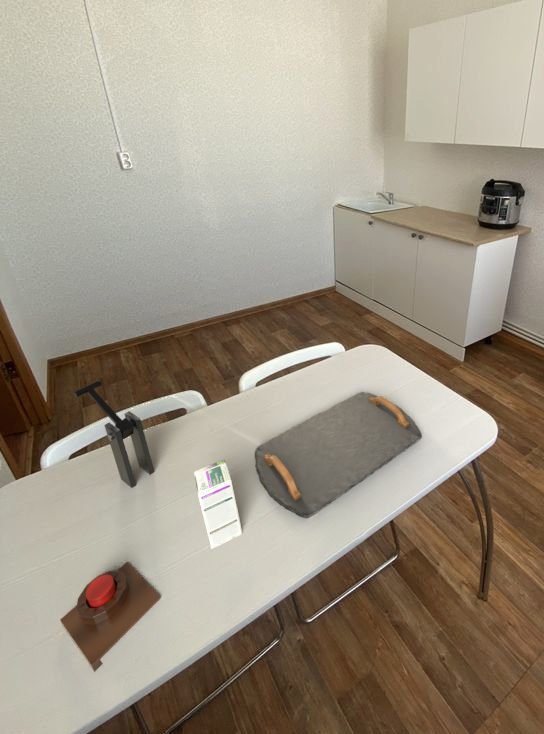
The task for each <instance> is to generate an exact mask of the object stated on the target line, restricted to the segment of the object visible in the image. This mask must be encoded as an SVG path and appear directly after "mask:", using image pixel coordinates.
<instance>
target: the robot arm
mask: <svg viewBox="0 0 544 734" xmlns="http://www.w3.org/2000/svg"><path fill="white" fill-rule="evenodd" d="M2 467H3V459H2V455H1V454H0V471H2Z"/></svg>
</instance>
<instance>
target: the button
mask: <svg viewBox="0 0 544 734" xmlns="http://www.w3.org/2000/svg"><path fill="white" fill-rule="evenodd" d="M94 579H95V578H94ZM94 579H93V580H94ZM115 590H116V585H115V583H114V580H113V577H112V576H110V575H103V576H100V577H98V578H97V579H95V580H94V581H93V582H92V583H91V584H90V585H89V587H88V589H87V591H86V597H87V600H88V602H89V605H90V606H91V607H99V606H102V605H104V604H105V603H107V602H108V601H109V600H110V599H111V598H112V596H113V595H114V593H115Z"/></svg>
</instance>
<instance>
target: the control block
mask: <svg viewBox="0 0 544 734" xmlns="http://www.w3.org/2000/svg"><path fill="white" fill-rule="evenodd" d="M103 575H110V576H112V577H113V580H114V583H115V585H116V590H115V593H114V595H113V596H112V598H111V599H110V600H109V601H108V602H107V603H105V604H104V605H102V606H99V607H91V606H90V605H89V602H88V600H87V597H86V591H87V589H88V587H89V585H90V584H91V583H92V582H93V581H94V580H95V579H97V578H98V577H100V576H103ZM160 600H161V596H160V595H159V593H157V592H156V590H155V589H153V588H152V586H151V585H150V584H149V583H148V582H147V581H146V579H144V578H143V577H142V576H141V574H139V573H138V572H137V571H136V570H135V568H134V567H133V566H132V565H131V564H130V563H129V562H128V561H126V562H125V563H124V564H123V565H122V566H120V567H119V568H118V569H117V570H108V571H106V572H103V573H101V574H98V575H97V576H96V577H95V578H93V579H92V580H91V581H89V583H88V584H86V585H85V587H84V588H83V590H82V591H81V593H80V594H79V596H78V598H77V602H76V605H75V606H74V607H73V608H72V609H71V610H69V611H68V612H67V613H66V614H65V615H63V617H61V618H60V619H59V621H60V623H61V626H62V627H63V629H64V630H65V631H66V633H67V635H68V637H70V639H71V641H72V643H74V645H75V646H76V648H77V649H78V651H79V652H80V654H81V655H82V657H83V658H84V659H85V661H86V663H88V665H89V667H90V668H91V669H92V671H93V672H94V673H95V672H96V671H97V670H98V669H99V668H101V666H103V661H102V660H101V659H103V657H105V655H107V654H108V653H109V651H111V649H112V648H113V647H114V646H116V644H117V643H118V642H119V641H120V640H121V639H122V638H123V637H125V635H126V634H127V633H128V632H129V631H130V630H131V629H133V627H134V626H136V624H137V623H138V622H139V621H140V620H141V619H142V618H143V617H144V616H145V615H146V614H147V613H148V611H150V610H151V609H152V608H153V607H154V606H155V605H156V604H157V603H158V602H159V601H160Z"/></svg>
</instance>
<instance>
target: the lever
mask: <svg viewBox="0 0 544 734" xmlns="http://www.w3.org/2000/svg"><path fill="white" fill-rule="evenodd" d="M101 387H103V383H102V381H101V380H100V379H98V380H95V381H93V382H91V383H88V385H85V386H83V387H81V388H78V389H77V390H74V391H73V396H75V398H77V399H78V398H80V397H81V396H84V395H86V394H87V395H88V396H89V398H91V399H92V400H93V402H95V404H96V405H97V406H98V407H99V409H101V410H102V412H103V413H104V414H105V415H106V416H107V417H108V418H109V420H111V422H112V423H113V425H114V426H115V427H116V428H118V429H119V430H120V431H121V434H122V438H123V440H125V439H127V438H128V437H131V435H132V434H133V433H134V428H133V425H132V424H131V423H130V422H129V421H128V420H127V419H126V417H125V418H123V419H122V418H120V416H119V415H118V413H116V411H114V409H112V407H110V405H109V404H108V403H107V402H106V401H105V400H104V399H103V398H102V397H101V396H100V394H99V393H98V392H97V391H96V389H98V388H101Z"/></svg>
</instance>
